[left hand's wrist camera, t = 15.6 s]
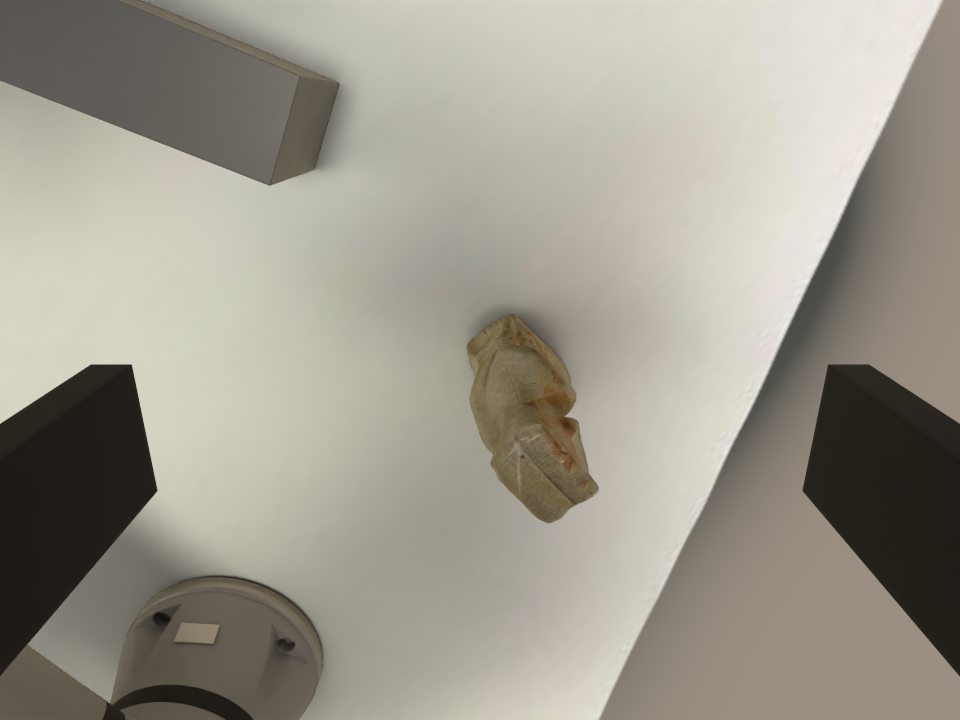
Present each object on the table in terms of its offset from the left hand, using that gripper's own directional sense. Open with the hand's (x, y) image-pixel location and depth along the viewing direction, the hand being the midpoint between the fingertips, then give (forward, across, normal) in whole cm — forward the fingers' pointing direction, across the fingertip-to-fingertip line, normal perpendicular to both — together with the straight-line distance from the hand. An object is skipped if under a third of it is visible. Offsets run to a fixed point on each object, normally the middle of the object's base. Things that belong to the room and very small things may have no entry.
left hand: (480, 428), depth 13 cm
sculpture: (+30, -2, +10) cm, 32 cm away
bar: (+30, +19, -9) cm, 37 cm away
